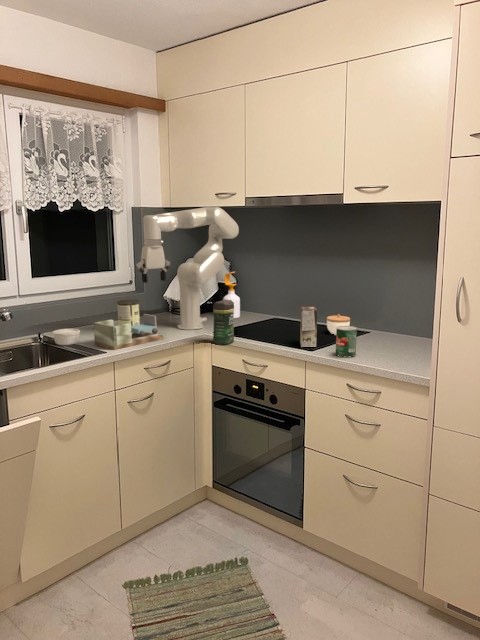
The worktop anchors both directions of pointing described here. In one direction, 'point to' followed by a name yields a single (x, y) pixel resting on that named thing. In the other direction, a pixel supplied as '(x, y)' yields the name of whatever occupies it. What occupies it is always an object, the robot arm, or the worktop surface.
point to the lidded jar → (337, 322)
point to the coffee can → (128, 312)
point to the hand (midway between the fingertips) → (154, 281)
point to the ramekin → (66, 336)
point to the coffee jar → (223, 322)
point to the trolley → (146, 325)
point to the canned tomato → (346, 340)
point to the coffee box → (308, 326)
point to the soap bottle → (232, 296)
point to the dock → (119, 335)
